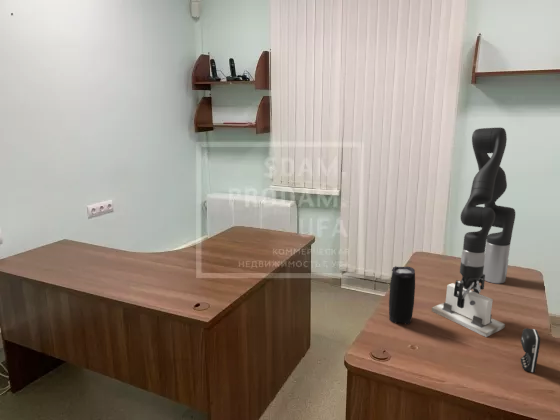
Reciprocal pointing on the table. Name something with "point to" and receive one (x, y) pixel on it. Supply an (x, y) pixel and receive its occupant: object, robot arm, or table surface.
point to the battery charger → (530, 349)
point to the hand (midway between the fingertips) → (467, 304)
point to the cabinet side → (468, 320)
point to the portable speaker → (402, 294)
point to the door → (471, 304)
